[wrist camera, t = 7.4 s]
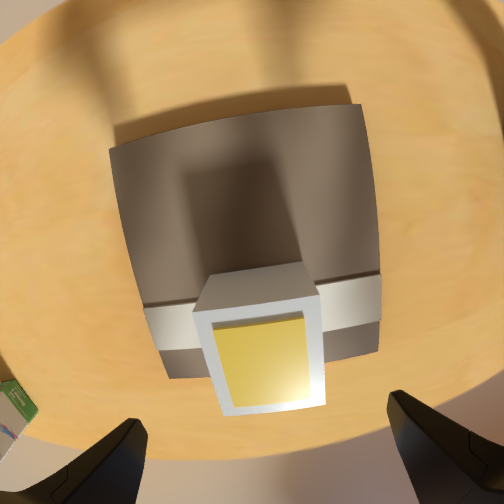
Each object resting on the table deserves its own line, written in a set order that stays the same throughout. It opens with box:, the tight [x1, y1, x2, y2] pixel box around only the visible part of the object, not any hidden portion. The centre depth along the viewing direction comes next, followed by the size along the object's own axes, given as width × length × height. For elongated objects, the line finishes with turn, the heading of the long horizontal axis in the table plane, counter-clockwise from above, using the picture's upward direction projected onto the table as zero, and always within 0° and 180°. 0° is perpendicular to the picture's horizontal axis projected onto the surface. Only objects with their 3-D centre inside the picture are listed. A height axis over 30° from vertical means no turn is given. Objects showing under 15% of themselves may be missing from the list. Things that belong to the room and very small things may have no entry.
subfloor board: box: [109, 104, 382, 379], centre depth 16 cm, size 14×15×1 cm
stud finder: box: [192, 261, 325, 416], centre depth 14 cm, size 5×6×5 cm
